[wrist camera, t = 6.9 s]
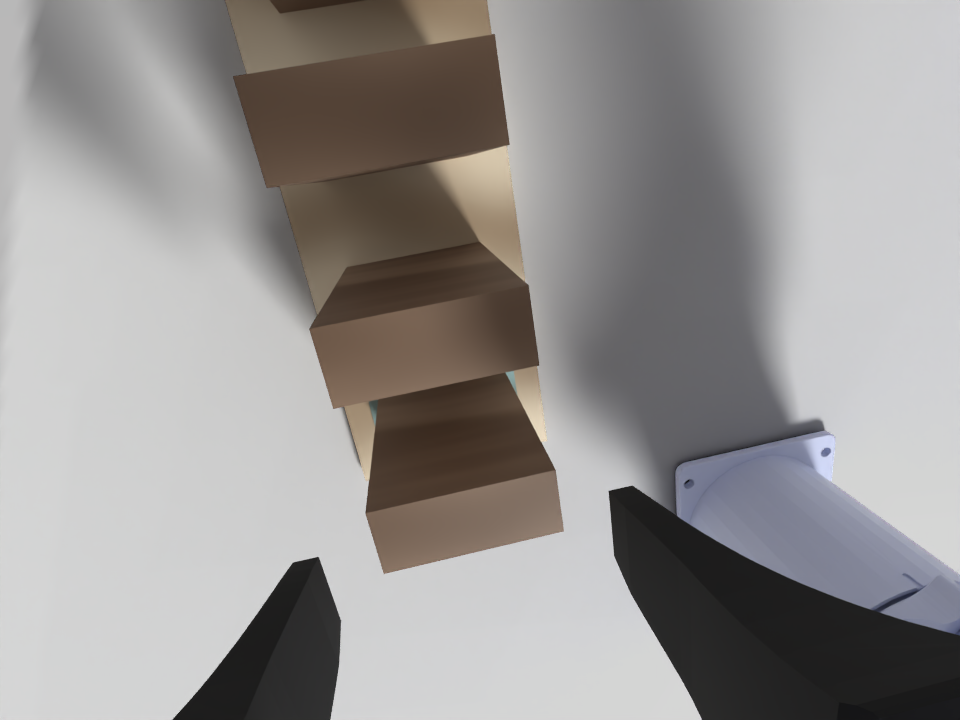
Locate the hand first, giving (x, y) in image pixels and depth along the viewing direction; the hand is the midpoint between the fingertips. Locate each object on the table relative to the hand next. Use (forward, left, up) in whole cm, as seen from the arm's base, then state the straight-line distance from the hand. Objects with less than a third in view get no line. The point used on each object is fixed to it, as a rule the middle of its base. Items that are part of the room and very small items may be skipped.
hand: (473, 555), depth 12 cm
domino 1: (+10, 0, -9) cm, 14 cm away
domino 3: (0, 0, -9) cm, 9 cm away
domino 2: (+5, 0, -9) cm, 11 cm away
